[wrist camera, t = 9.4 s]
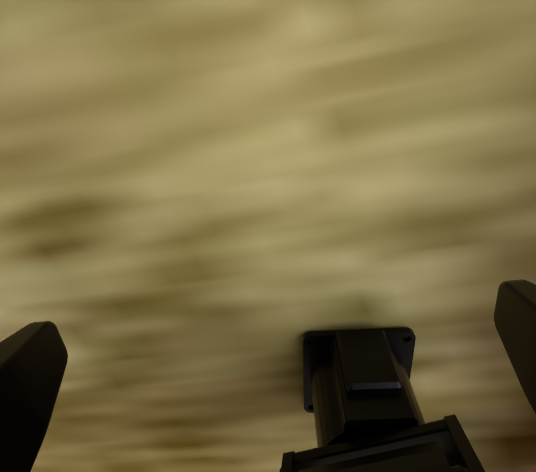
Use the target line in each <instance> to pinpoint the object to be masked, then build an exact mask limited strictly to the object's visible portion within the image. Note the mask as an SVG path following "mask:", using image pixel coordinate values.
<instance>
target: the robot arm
mask: <svg viewBox="0 0 536 472" xmlns="http://www.w3.org/2000/svg"><path fill="white" fill-rule="evenodd" d="M494 322H495V326H496V329H497V331H498V333H499V335H500V338H501V340H502V342H503V345H504V347H505V349H506V352H507V354H508V356H509V359H510V361H511V363H512V366H513V368H514V370H515V372H516V375H517V377H518V379H519V382H520V384H521V386H522V388H523V390H524V393H525V395H526V397H527V399H528V400H529V402H530V404H531V406H532V408H533V410H534V411H535V413H536V285H535V284H533V283H531V282H529V281H526V280H510V281H503V282H502V283H501V284H500V285H499V288H498V294H497V300H496V306H495V312H494ZM404 336H408V337H405V338H403V337H404ZM311 339H313V340H314V341H308V340H311ZM415 339H416V338H415V335H414V332H413V331H412V329H410V328H386V329H360V330H335V331H311V332H307V333H305V334H304V335H303V389H304V409H305V410H306V411H307V412H310V413H314V417H315V426H316V436H317V445H318V448H314V449H309V450H305V451H301V452H296V453H295V452H294V451H292V452H287V453H283V459H282V466H281V469H280V472H485V471H484V469H483V467H482V465H481V463H480V461H479V459H478V457H477V456H476V454H475V452H474V450H473V448H472V446H471V444H470V442H469V440H468V438H467V437H466V435H465V433H464V431H463V429H462V427H461V425H460V423H459V421H458V419H457V418H456V416H455V414H454V415H450V416H445V417H444V419H441V420H437V421H433V422H428V423H425V422H424V419H423V416H422V413H421V411H420V408H419V405H418V402H417V400H416V397H415V394H414V391H413V389H412V386H411V383H410V381H409V380H410V373H411V366H412V360H413V353H414V346H415ZM67 359H68V354H67V350H66V347H65V345H64V343H63V341H62V338H61V336H60V334H59V331H58V329H57V327H56V325H55V324H54V323H53V322H50V321H44V322H34V323H30V324H28V325H27V326H25V327H24V328H22V329H20V330H19V331H17V332H16V333H14V334H13V335H11V336H9V337H8V338H6V339H5V340H3V341H2V342H0V472H30V471H31V469H32V467H33V464H34V462H35V459H36V457H37V454H38V452H39V449H40V447H41V444H42V442H43V439H44V437H45V434H46V431H47V428H48V425H49V422H50V419H51V416H52V412H53V409H54V406H55V402H56V399H57V395H58V392H59V388H60V385H61V382H62V378H63V375H64V371H65V368H66V365H67Z"/></svg>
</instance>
